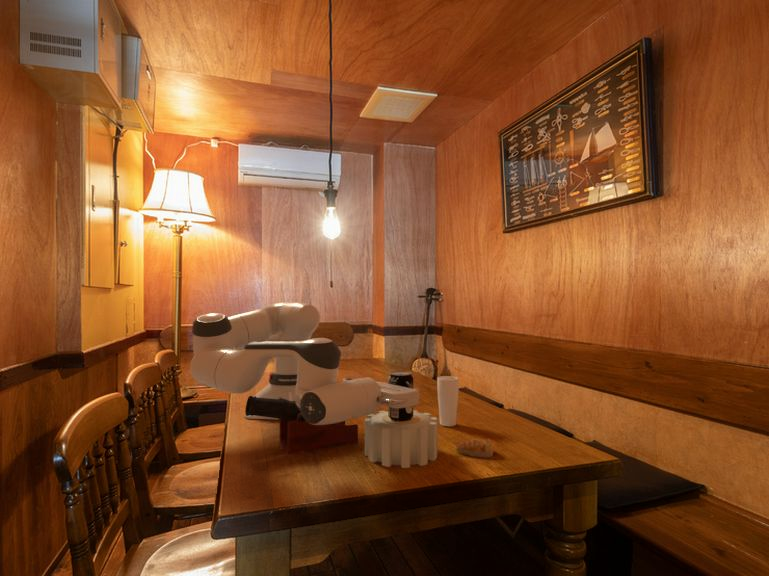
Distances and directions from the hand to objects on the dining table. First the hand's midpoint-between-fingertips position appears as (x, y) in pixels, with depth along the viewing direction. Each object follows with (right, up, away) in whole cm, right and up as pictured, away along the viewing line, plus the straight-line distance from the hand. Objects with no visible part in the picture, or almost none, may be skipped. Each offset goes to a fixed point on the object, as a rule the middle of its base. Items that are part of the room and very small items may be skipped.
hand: (403, 387), depth 115 cm
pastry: (+19, -18, 0) cm, 26 cm away
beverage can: (-1, -8, -1) cm, 8 cm away
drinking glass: (+15, -18, +25) cm, 34 cm away
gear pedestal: (-1, -17, -1) cm, 17 cm away
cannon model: (-28, -17, +6) cm, 34 cm away
